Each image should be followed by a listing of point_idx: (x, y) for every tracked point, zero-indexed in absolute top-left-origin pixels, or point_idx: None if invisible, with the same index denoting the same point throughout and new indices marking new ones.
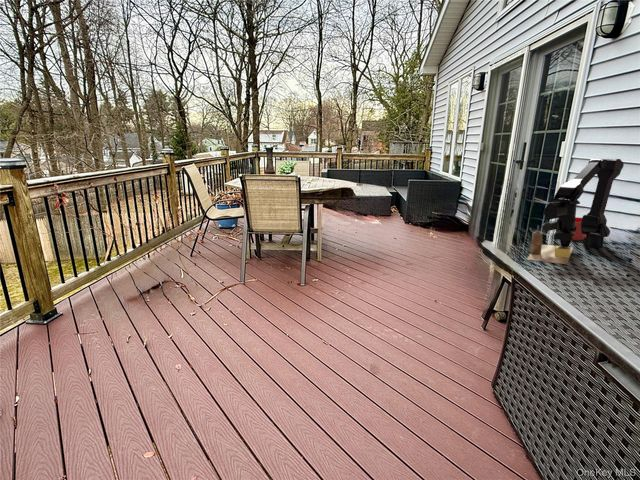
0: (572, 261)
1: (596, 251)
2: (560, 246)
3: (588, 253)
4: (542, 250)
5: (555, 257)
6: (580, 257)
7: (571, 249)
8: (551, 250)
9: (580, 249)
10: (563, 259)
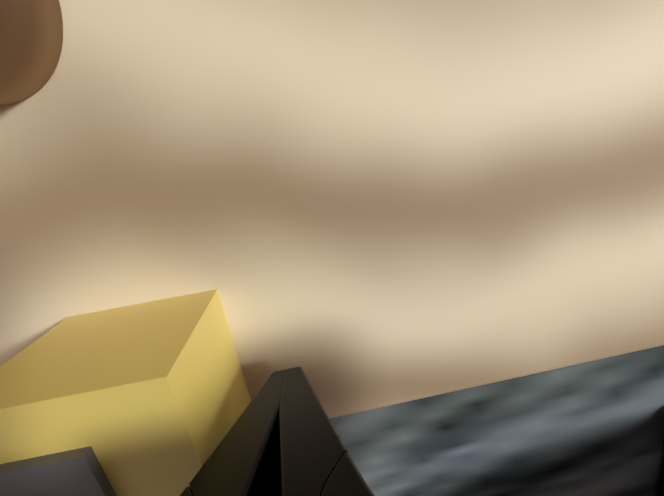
0: None
1: (620, 489)
2: (179, 442)
3: (521, 469)
4: (281, 40)
5: (15, 349)
6: None
7: (547, 360)
8: (369, 174)
9: (656, 378)
10: None
